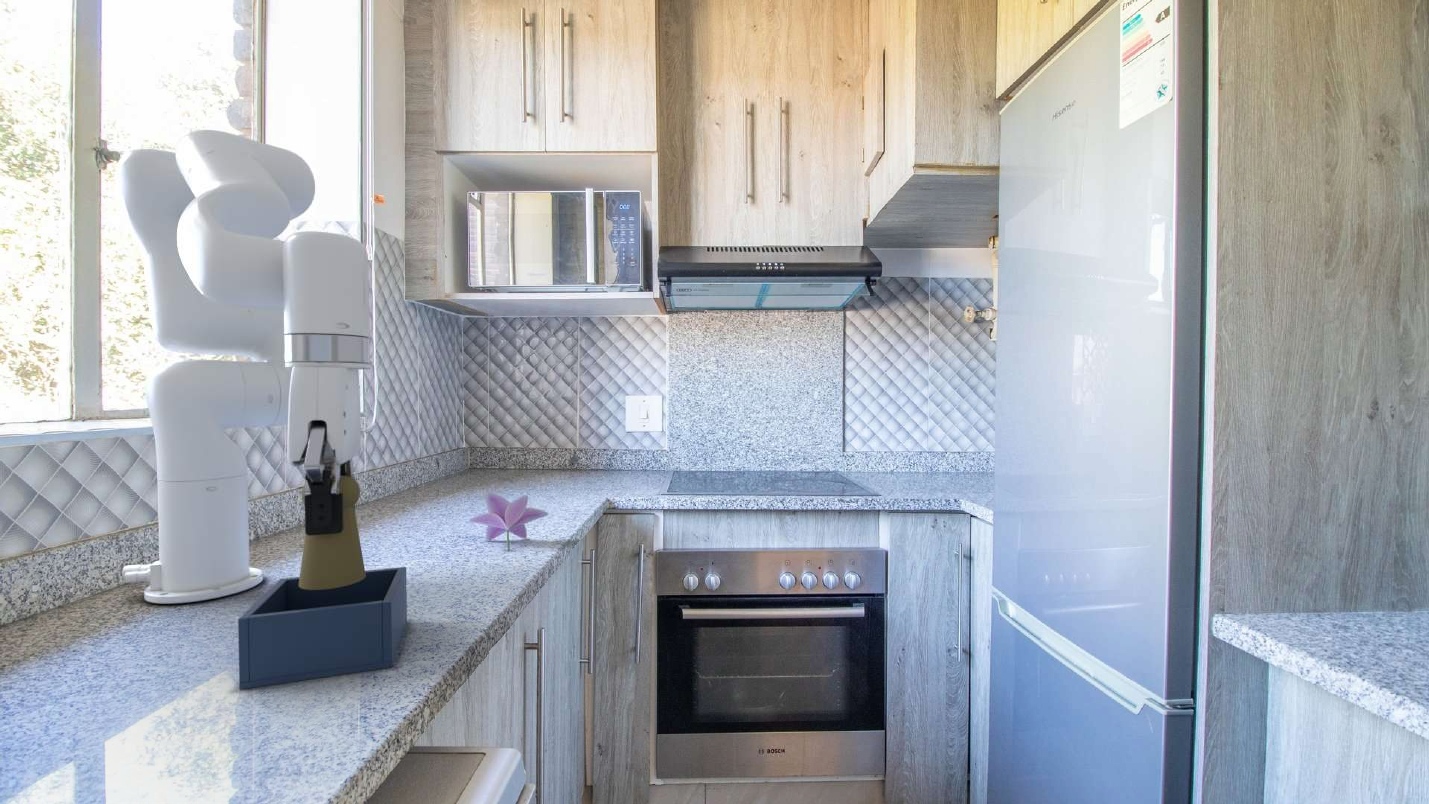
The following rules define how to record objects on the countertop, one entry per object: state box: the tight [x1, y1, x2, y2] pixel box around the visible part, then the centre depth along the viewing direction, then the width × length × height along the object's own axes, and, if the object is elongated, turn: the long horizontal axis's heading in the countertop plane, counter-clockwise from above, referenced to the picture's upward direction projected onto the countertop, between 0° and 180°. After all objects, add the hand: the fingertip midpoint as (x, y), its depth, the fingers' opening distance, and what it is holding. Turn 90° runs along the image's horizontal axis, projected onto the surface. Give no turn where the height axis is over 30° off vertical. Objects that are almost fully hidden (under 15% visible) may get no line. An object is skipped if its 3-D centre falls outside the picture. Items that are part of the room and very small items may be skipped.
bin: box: [237, 566, 408, 690], centre depth 64 cm, size 13×13×7 cm
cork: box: [299, 476, 366, 590], centre depth 64 cm, size 6×6×11 cm
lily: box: [469, 491, 549, 551], centre depth 107 cm, size 12×12×10 cm
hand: (331, 525), depth 64 cm, fingers closed on cork, 5 cm apart
